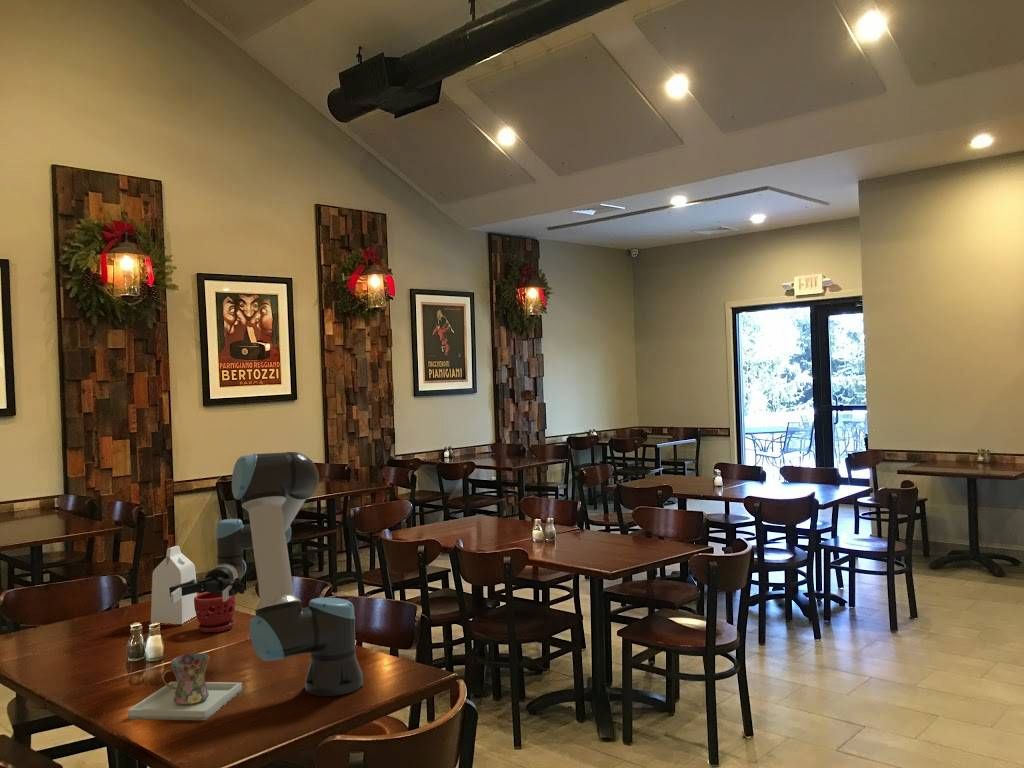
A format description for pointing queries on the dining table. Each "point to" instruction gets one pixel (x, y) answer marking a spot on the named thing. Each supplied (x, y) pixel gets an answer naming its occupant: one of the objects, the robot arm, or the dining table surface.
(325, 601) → the robot arm
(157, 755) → the dining table surface
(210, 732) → the dining table surface
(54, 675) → the dining table surface
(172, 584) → the milk
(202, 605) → the plant pot
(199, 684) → the mug
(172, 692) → the tray
